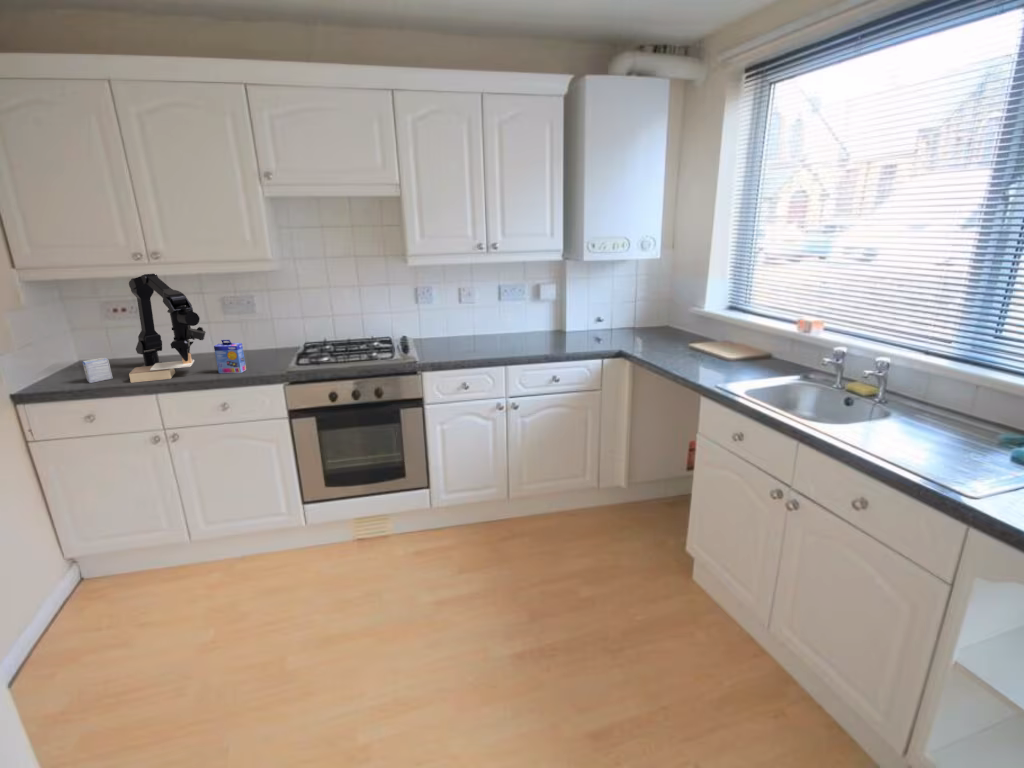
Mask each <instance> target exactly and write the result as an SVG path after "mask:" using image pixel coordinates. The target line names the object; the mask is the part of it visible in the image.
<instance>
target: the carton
mask: <svg viewBox="0 0 1024 768" xmlns="http://www.w3.org/2000/svg"><path fill="white" fill-rule="evenodd" d="M151 368H152V366H145V367H143V366H136V367H134V368H133V369H132V370H131V371H130V372H129V374H128V376H129V379H130V380H129V381H130V384H131V383H140V382H149V381H150V382H151V381H152V382H153V381H162V380H170V379H172V377H173V376H174V375H175V374H176V370H175V369H176V368H172V369H161V370H151V371H150V369H151Z"/></svg>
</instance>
